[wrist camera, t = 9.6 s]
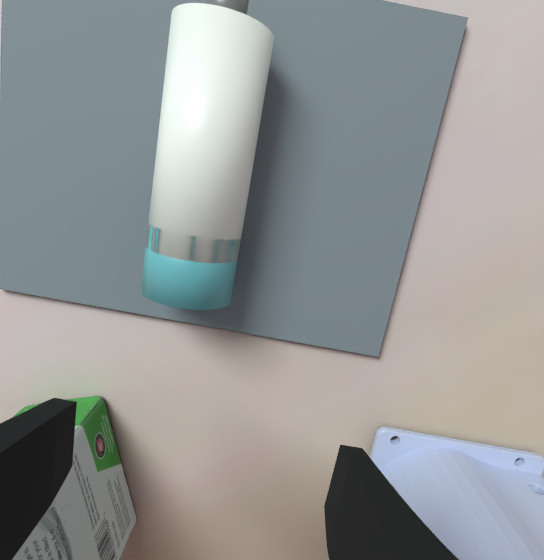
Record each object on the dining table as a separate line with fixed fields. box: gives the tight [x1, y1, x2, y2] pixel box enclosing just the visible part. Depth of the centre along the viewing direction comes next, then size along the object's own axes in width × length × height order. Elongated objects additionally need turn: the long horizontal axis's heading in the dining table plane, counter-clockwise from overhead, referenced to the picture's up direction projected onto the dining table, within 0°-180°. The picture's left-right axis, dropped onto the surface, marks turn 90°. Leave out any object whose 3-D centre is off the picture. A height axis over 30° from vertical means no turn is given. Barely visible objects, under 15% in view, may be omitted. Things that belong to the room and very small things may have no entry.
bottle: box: [141, 0, 274, 310], centre depth 17 cm, size 4×12×4 cm, turn 169°
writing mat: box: [0, 0, 468, 357], centre depth 19 cm, size 20×16×1 cm
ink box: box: [12, 396, 136, 560], centre depth 17 cm, size 9×5×12 cm, turn 8°
